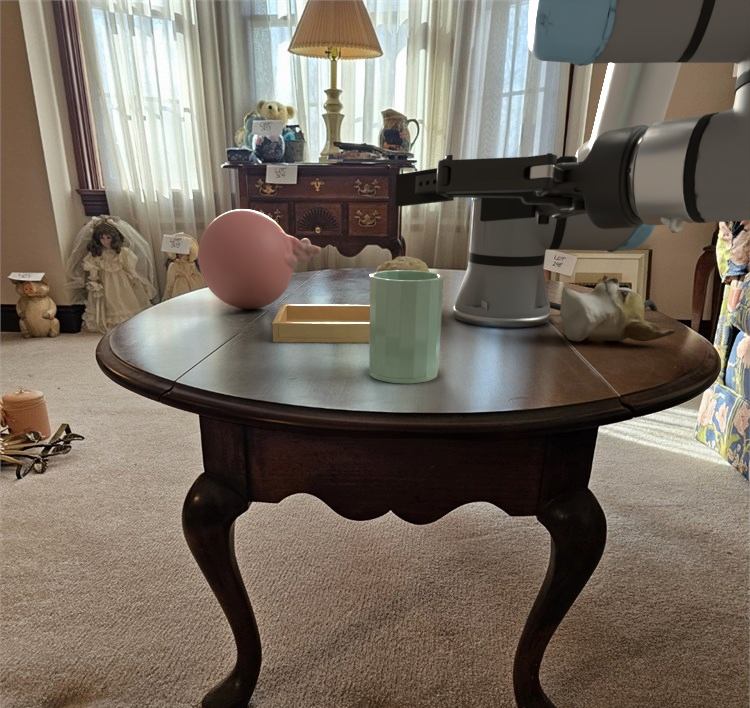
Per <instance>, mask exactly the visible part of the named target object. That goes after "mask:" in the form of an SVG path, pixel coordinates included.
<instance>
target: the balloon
mask: <svg viewBox="0 0 750 708" xmlns="http://www.w3.org/2000/svg"><path fill="white" fill-rule="evenodd" d="M321 253H322V249H321V247H320V246H317V245H314V244H312V243H311V240H310V239H309V238H306V237H305V238H302V239H298V238H297V237H295V236H293V235H289V234H287V233H286V232H285V231H284V229H283V228H282V226H280V225H279V224H278V223H277V221H275V219H272V218H271V217H269V216H268V215H266V214H264V213H262V212H260V211H257V210H253V209H245V208H239V209H233V210H229V211H227V212H223V213H222V214H220V215H219V216H217V217H216V218H214V219H213V220H212V221H211V222H210V223H209V224H208V226H207V227H206V228H205V230H204V231H203V233H202V235H201V238H200V240H199V244H198V252H197V259H198V260H197V262H198V268H199V271H200V274H201V277H202V279H203V280H204V284H205V286H207V288H208V289H209V290H210V292H211V293H212V294H213V295H214V296H215V297H216V298H218V299H219V300H220V301H222V302H223V303H225V304H226V305H229V306H231V307H233V308H237V309H242V310H256V309H261V308H264V307H267V306H269V305H272V303H275V301H277V300H278V299H279V298H280V297H281V296H282V295H283V294H284V293H285V292H286V290H287V288H288V287H289V285H290V283H291V281H292V278H293V275H294V270H295V269H296V268H297V266H299V265H300V264H308V263H309V262H310V261H311V258H312V257H313V256H314V255H320V254H321Z"/></svg>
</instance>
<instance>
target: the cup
mask: <svg viewBox="0 0 750 708" xmlns="http://www.w3.org/2000/svg"><path fill="white" fill-rule="evenodd" d="M444 278H445V277H444V276H443V274H441V273H437V272H434V271H433V272H432V271H429V272H426V271H412V270H411V271H410V270H393V271H381V272H377V271H375V272H372V273H370V274H369V305H370V311H369V343H368V369H369V370H368V374H369V376H370V377H371V378H373V379H375V380H378V381H380V382H386V383H391V384H420V383H421V384H422V383H426V382H429V381H432V380H434V379H436V378H437V377H438V375H439V374H438V372H439V369H440V368H439V367H440V364H439V362H440V349H441V331H442V316H443V315H442V314H443V313H442V312H443V295H444Z"/></svg>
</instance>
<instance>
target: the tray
mask: <svg viewBox="0 0 750 708" xmlns="http://www.w3.org/2000/svg"><path fill="white" fill-rule="evenodd" d="M369 311H370V304H281V305H280V307H279V308H278V311H277V313H276V315H275V317H274V319H273V321H272V323H271V326H272V327H271V328H272V342H273V343H351V344H352V343H355V344H356V343H357V344H359V343H362V344H363V343H364V344H365V343H368V344H369Z"/></svg>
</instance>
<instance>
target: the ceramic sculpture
mask: <svg viewBox="0 0 750 708" xmlns="http://www.w3.org/2000/svg"><path fill="white" fill-rule="evenodd" d="M644 302H645V301H644V300H643V298H642V296H641V295H640V294H639V293H638V292H637V291H635V290H633V289H631V288H628V287H620V283H619V280H618V278H616V277H614V278H613V277H612V278H610V279H604V280H603V281H601V282H600V283H597V285H596V286H595V287H594V289H592V290H591V291H589V292H584V293H583V292H578V291H576V290H573V289H571V288H568V287H567V286H565V287H563V288H562V291H561V300H560V304H561V309H560V311H559V315H560V318H561V321H562V325H563V326H562V327H563V330H564V334H565V337H566V338H567V339H568V341H572V342H582V341H584V340H585V339H586V338H588V337H593V338H597V339H598V340H602V341H605V342H621V341H624V340H627V339H629V340H633V341H636V342H637V341H638V342H650V341H655V340H658V339H661V338H665V337H668V336H671V335H674V334H675V333H676V330H675V329H671V328H663V327H662V326H661V325H659V324H658V323H655V322H654V321H651V322H650V321H647V320H645V317H644V316H645V309H644Z"/></svg>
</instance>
